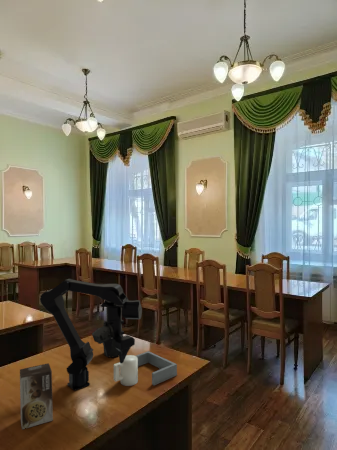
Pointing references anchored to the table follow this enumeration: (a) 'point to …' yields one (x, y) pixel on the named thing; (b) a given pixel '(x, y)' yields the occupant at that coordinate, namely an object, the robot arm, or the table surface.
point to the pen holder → (113, 350)
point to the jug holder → (166, 366)
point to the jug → (127, 371)
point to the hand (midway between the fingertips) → (114, 359)
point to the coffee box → (36, 395)
